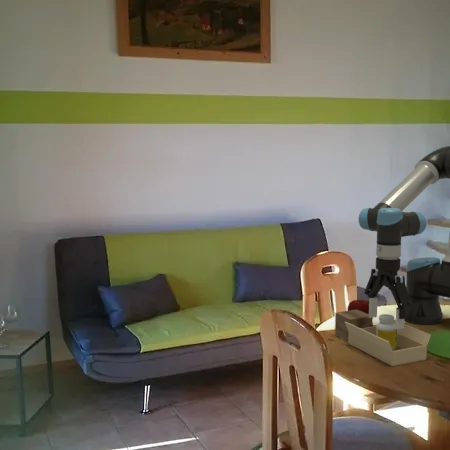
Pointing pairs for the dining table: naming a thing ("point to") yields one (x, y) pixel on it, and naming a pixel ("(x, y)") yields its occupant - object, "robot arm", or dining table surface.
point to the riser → (351, 322)
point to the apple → (359, 306)
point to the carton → (381, 349)
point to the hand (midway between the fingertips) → (385, 322)
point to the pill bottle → (387, 330)
